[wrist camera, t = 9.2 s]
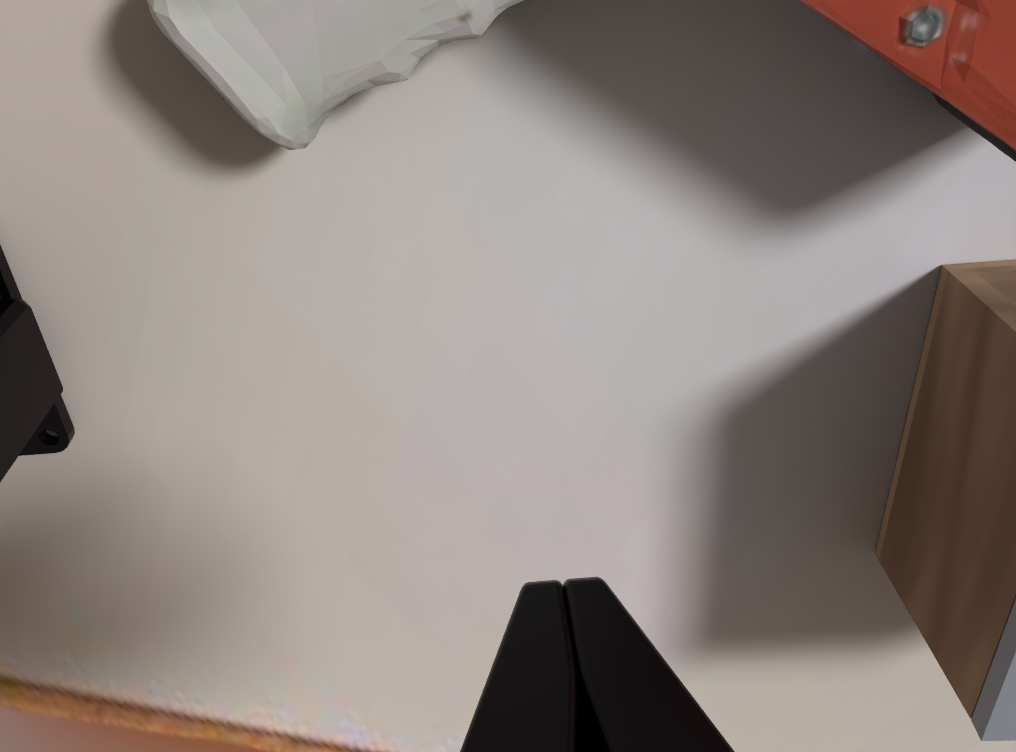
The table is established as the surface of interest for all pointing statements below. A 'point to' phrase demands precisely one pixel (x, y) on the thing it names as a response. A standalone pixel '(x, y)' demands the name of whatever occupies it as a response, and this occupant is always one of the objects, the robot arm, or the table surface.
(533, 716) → the robot arm
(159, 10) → the tape dispenser
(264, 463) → the table surface
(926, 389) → the box
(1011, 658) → the lid
